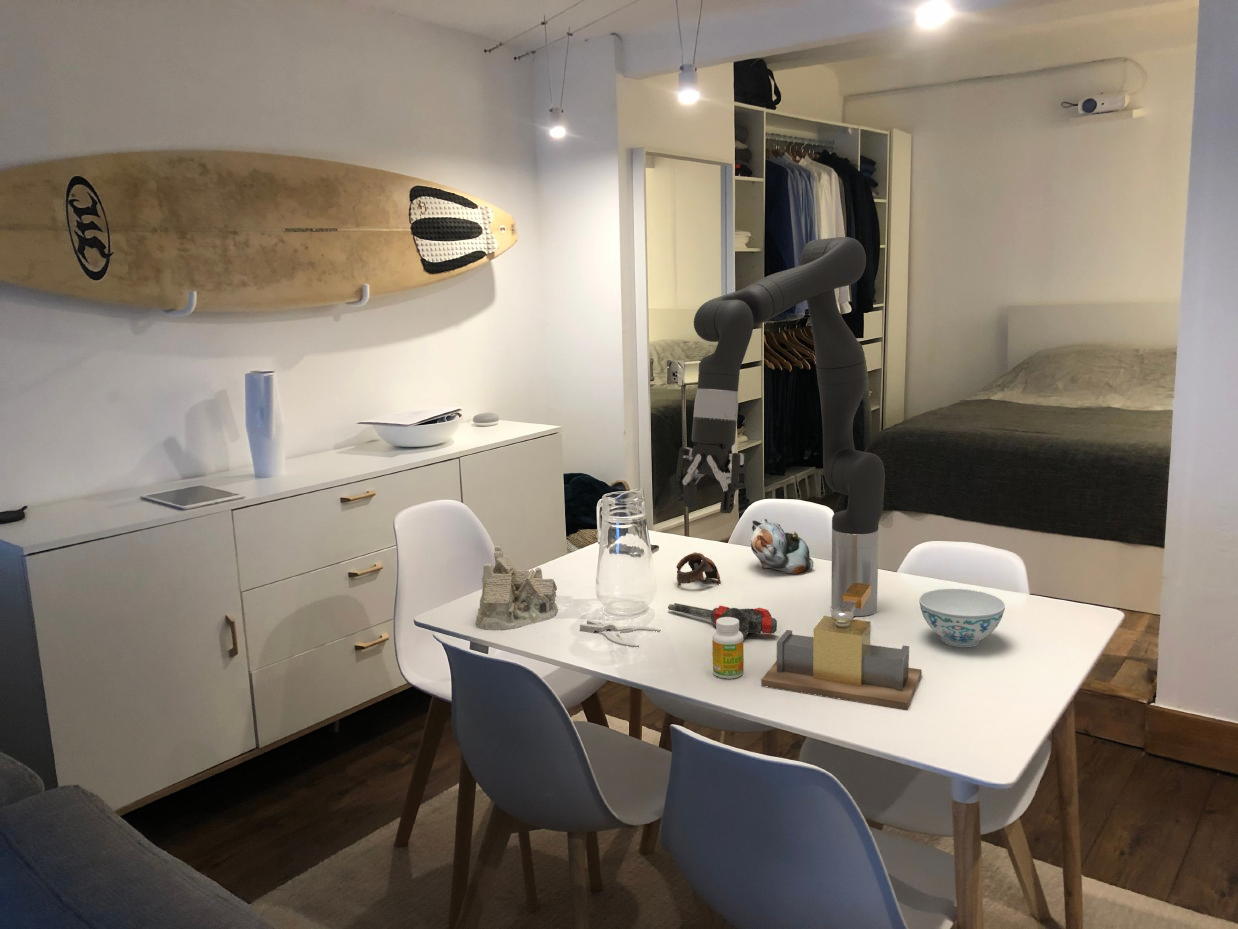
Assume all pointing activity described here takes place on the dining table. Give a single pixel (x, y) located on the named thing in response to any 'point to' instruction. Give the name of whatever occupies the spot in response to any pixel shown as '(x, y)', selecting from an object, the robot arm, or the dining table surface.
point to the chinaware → (961, 615)
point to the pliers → (603, 628)
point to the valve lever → (852, 602)
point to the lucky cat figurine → (780, 548)
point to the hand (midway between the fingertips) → (707, 510)
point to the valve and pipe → (843, 655)
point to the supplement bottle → (728, 649)
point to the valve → (748, 618)
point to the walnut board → (845, 688)
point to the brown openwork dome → (697, 569)
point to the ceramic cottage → (514, 596)
